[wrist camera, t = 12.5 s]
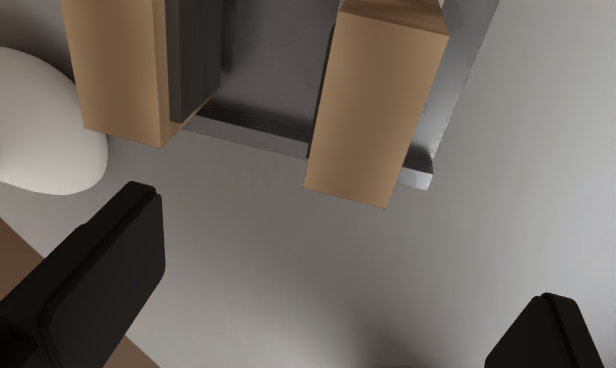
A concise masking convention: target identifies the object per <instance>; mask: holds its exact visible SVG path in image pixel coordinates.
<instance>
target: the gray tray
mask: <svg viewBox="0 0 616 368" xmlns="http://www.w3.org/2000/svg"><path fill="white" fill-rule="evenodd" d="M344 1H345V0H223V11H222V39H221V66H220V87H219V88H218V89H217V90H216V94H215V95H214V96H213V97H212V98H211V99H210V100H209V101H208V102H207V103H206V104H205V105H204V106H203V107H202V108H201V109H200V110H199V111H198V112H197V113H196V114H195V115H194V116H193V117H192V118H191V119H190V120H189V121H188V122H187V123H186V124H185V125H184V126H183V127H182V128H181V129H185V130H189V131H193V132H197V133H201V134H204V135H208V136H212V137H216V138H220V139H224V140H228V141H232V142H236V143H240V144H244V145H248V146H252V147H256V148H260V149H264V150H268V151H272V152H275V153H279V154H283V155H287V156H291V157H295V158H299V159H303V160H307V161H309V159H307V158H306V154H307V149H308V143H309V138H310V133H311V128H312V123H313V117H314V112H315V107H316V102H317V97H318V92H319V86H320V81H321V76H322V71H323V66H324V60H325V55H326V50H327V45H328V40H329V35H330V30H331V29H332V27H333V25H334V24H335V22H336V20H337V15H338V11H339V9H340V7H341V6H342V4H343V3H344ZM438 1H439V4H440V7H441V10H442V13H443V17H444V20H445V23H446V26H447V30H448V33H449V36H450V37H449V39H448V42H447V45H446V48H445V50H444V53H443V56H442V58H441V61H440V64H439V67H438V69H437V72H436V75H435V77H434V80H433V83H432V86H431V88H430V91H429V94H428V96H427V99H426V102H425V105H424V107H423V110H422V113H421V115H420V118H419V121H418V124H417V126H416V129H415V132H414V135H413V137H412V140H411V143H410V145H409V148H408V151H407V154H406V156H405V159H404V162H403V164H402V167H401V170H400V173H399V175H398V178H397V181H396V183H398V184H402V185H406V186H410V187H414V188H418V189H421V190H425V191H426V190H427V188H428V186H429V183H430V181H431V179H432V177H433V167H432V160H433V158H434V156H435V153H436V151H437V148H438V146H439V144H440V141H441V139H442V137H443V134H444V132H445V129H446V127H447V125H448V122H449V120H450V117H451V115H452V113H453V110H454V108H455V105H456V103H457V101H458V98H459V96H460V94H461V91H462V89H463V86H464V84H465V82H466V79H467V77H468V74H469V72H470V70H471V67H472V65H473V62H474V60H475V58H476V55H477V53H478V51H479V48H480V46H481V43H482V41H483V39H484V36H485V34H486V31H487V29H488V27H489V24H490V22H491V19H492V17H493V15H494V12H495V10H496V8H497V5H498V3H499V0H438Z"/></svg>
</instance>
